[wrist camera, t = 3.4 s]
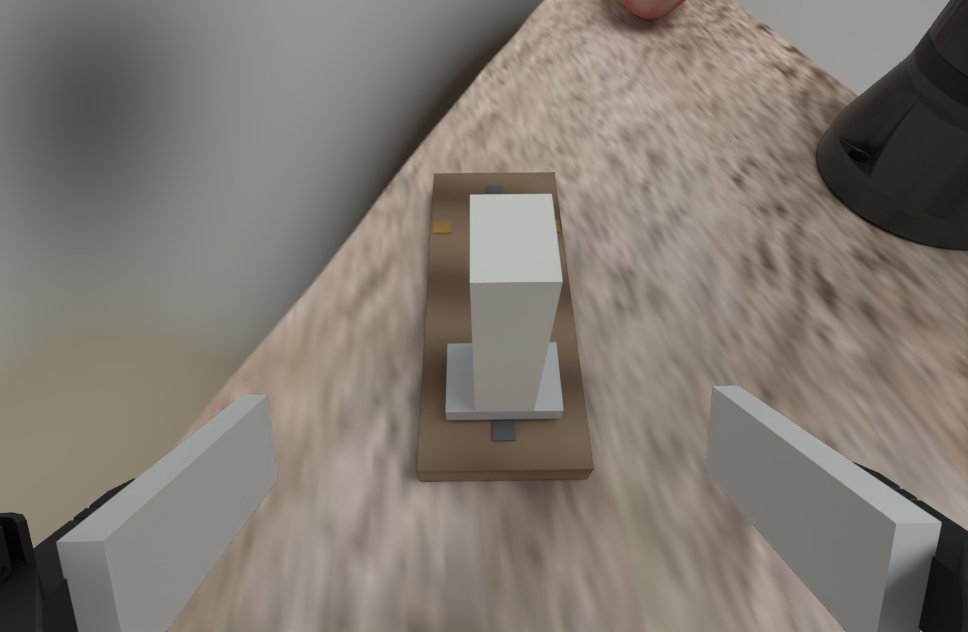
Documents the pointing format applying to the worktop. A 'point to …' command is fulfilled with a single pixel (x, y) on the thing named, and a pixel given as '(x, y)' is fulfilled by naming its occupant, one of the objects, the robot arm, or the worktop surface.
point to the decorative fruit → (651, 7)
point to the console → (471, 443)
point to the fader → (509, 314)
